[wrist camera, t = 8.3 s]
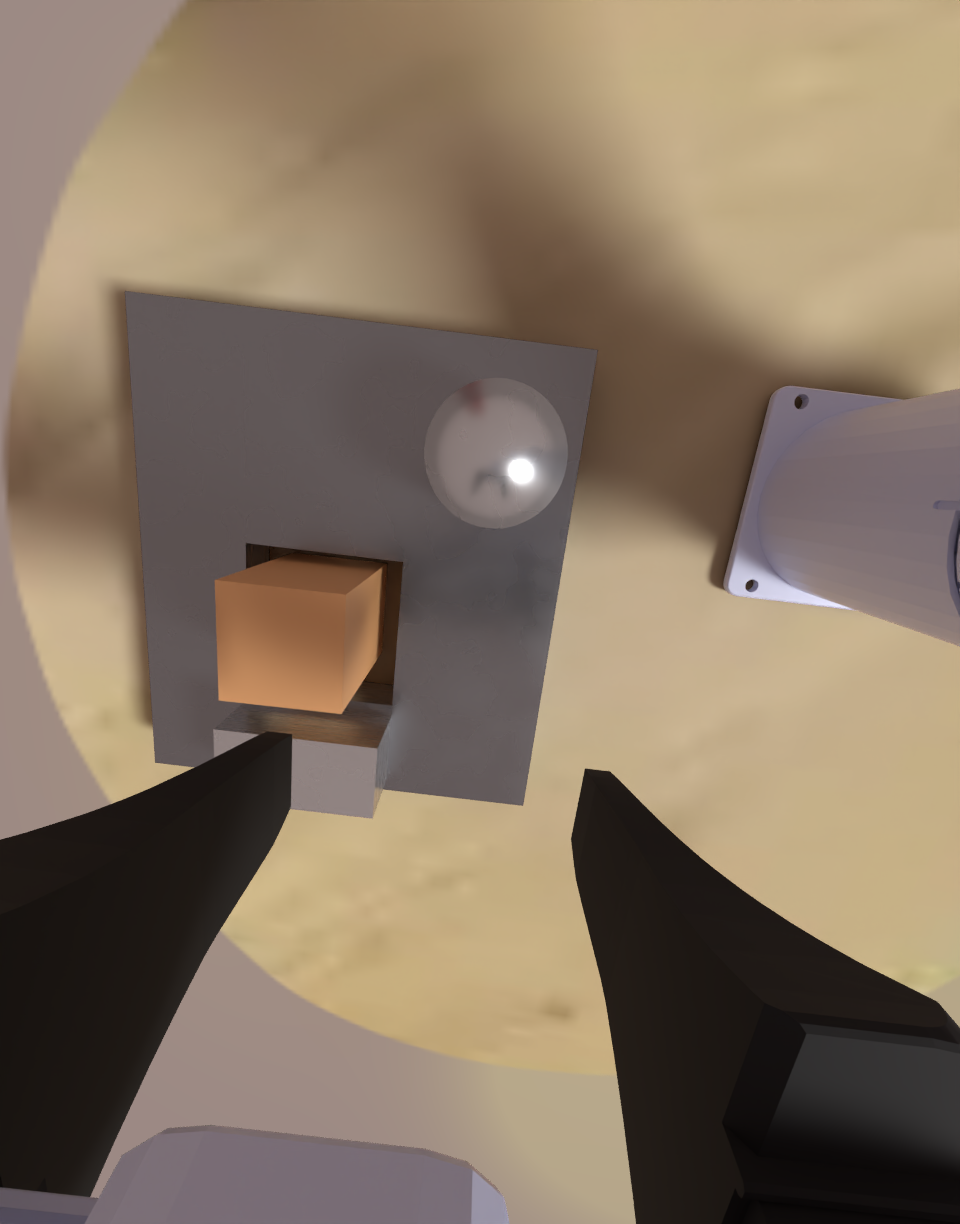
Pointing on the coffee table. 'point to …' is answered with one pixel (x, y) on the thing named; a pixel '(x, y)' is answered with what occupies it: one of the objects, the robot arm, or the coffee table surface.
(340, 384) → the slotted grey plate
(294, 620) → the tan rectangular block
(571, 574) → the coffee table surface
